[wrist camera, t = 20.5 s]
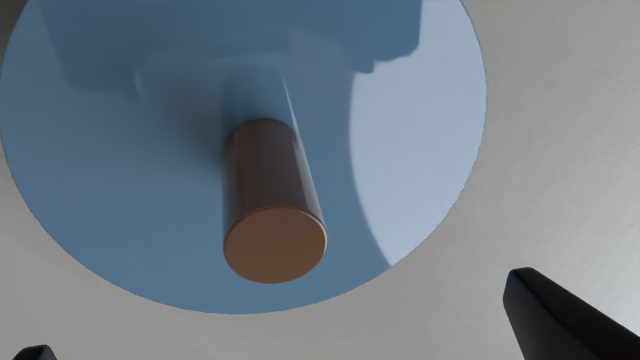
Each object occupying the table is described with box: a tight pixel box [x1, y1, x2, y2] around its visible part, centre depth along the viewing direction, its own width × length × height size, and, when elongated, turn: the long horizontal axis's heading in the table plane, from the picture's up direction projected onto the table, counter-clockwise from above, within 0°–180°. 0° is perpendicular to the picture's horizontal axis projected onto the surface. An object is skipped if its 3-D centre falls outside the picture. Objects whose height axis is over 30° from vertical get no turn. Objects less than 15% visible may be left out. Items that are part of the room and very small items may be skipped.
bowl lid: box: [0, 0, 487, 314], centre depth 14 cm, size 14×14×5 cm
